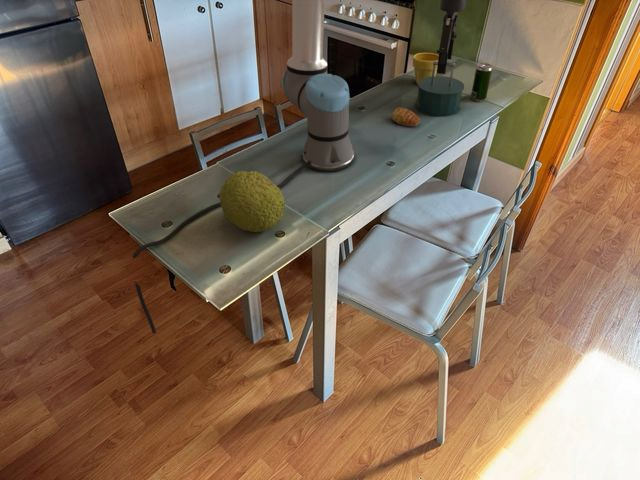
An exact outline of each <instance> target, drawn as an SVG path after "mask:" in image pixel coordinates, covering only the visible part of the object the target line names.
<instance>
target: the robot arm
mask: <svg viewBox="0 0 640 480" xmlns="http://www.w3.org/2000/svg"><path fill="white" fill-rule="evenodd" d="M291 2H292V3H291V4H292V5H291V6H292V14H291V15H292V17H291V19H292V22H291V23H292V24H291V25H292V26H291V27H292V28H291V31H292V33H291V34H292V37H291V39H292V40H291V41H292V42H291V43H292V44H291V46H292V51H291V57H290V58H288V60H287V62H286V69H285V71H283V73H282V77H281V89H282V92H283V94H284V96H285V98H287V100H288V102H289V103H291V104H292V105H294V106H295V107H296V108H297V109H298V110H299V111H300V112H302V113H303V114H304V115H305V116H306V121H307V122H306V124H307V137H306V140H305V144H304V148H303V151H302V161H303V164H302V165H301V166H300V167H298V168H297V169H296V170H295V171H293V172H292V173H291V174H289V176H287V177H286V179H285V180H284V181H282V182H281V183H279V184H277V185H276V186H277V187H279V189H281V188H282V187H284V186H285V185H287V184H288V183H289V182H290V181H291V180H292V179H293V178H294V177H295V176H296V175H298V174H299V173H300V172H302V171H303V170H304V169H305V168H307V167H308V168H309V169H312V170H314V171H317V172H325V173H327V172H328V173H329V172H338V171H342V170H344V169H347V168H348V167H350V166H351V165H352V164H353V163H354V161H355V150H354V147H353V145H352V142H351V138H350V136H349V127H350V126H349V125H350V124H349V123H350V120H349V119H350V117H349V115H350V99H351V98H350V88H349V85H348V83H347V81H346V80H345V79H344V78H342V77H341V76H339V75H335V74H334V75H333V74H332V73H328V62H327V60H326V59H325V58H324V57H323V53H324V52H323V51H324V31H325V30H324V29H325V8H326V7H325V6H326V5H325V3H326V0H292V1H291ZM466 3H467V0H440V3H439V9H440V10H441V11H443V12H446V14H444V16H443V20H442V22H443V24H442V28H441V29H442V31H441V37H440V43H439V48H438V49H437V50H436V54H438V55H439V58H438V66H437V73H436V74H441V75H446V71H447V66H446V65H447V62H448V60H452V58H453V50H454V43H455V39H457V38H458V35H457V33H456V31H457V23H458V18H459V15H458V13H460V12H463V11H464V10H465V9H466V5H467V4H466ZM220 207H221V205H220V201H219V202H216V203H214V204H212V205H210V206H208V207H205V208H203V209H202V210H200V211H198V212H196V213H195V214H193V215H192V216H189V218H187V219H185V220H184V221H182V222H181V223H180V224H179V225H178V226H177V227H176V228H175V229H174V230H172V231H171V232H170V233H169V234H167V235H166V236H164V237H163V238H161V239H159V240H155V241H151V242H148V243H145V244H142V245H141V246H139V247H138V248H137V249H136V250H135V251H134V253H133V255H132V259H136V258H137V257H138V256H139V255H140V254H141V252H142V251H144V250H146V249H149V248H152V247H154V246H158V245H161V244H164V243H165V242H167V241H169V240H170V239H171V238H173V237H174V236H175V235H177V233H179V232H180V231H181V230H182V229H183V228H184V227H185V226H187V225H188V224H189V223H191V222H192V221H194V220H195V219H197V218H198V217H200V216H202V215H204V214H206V213H207V212H210V211H212V210H214V209H216V208H220ZM134 284H135V285H134V286H135V290H136V293H137V297H138V299H139V302H140V305H141V307H142V310H143V313H144V315H145V317H146V319H147V321H148V324H149V327H150V330H151V333H152V334H153V335H155V334H156V333H157V330H156V327H155V324H154V321H153V319H152V316H151V314H150V312H149V309H148V307H147V305H146V301H145V299H144V296H143V293H142V288H141V285H140V284H138V283H136V282H134Z"/></svg>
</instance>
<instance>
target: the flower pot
mask: <svg viewBox="0 0 640 480" xmlns="http://www.w3.org/2000/svg"><path fill="white" fill-rule="evenodd" d="M438 58H439V54H438V53H433V52H419V53H415V54H414V55H413V57H412V67H413V68H414V79H415V83H416V84H417V85H418V82H419V81H420V80H421V79H423V78H426V77H432V72H433V61H438ZM437 66H438V65H436V67H435V75H434V76H437V74H438V73H437Z"/></svg>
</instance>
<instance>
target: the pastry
mask: <svg viewBox="0 0 640 480" xmlns="http://www.w3.org/2000/svg"><path fill="white" fill-rule="evenodd" d="M391 119H392V121H393V122H395V123H397V124H398V125H402V126H405V127H416V126H418V125H419V124H420V122H421V120H420V118H419V116H418V115H417V114H416V113H415V112H413V111H412V110H411V109H408V108H403V107H397V108H396V109H394V111H393V112H392V115H391Z"/></svg>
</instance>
